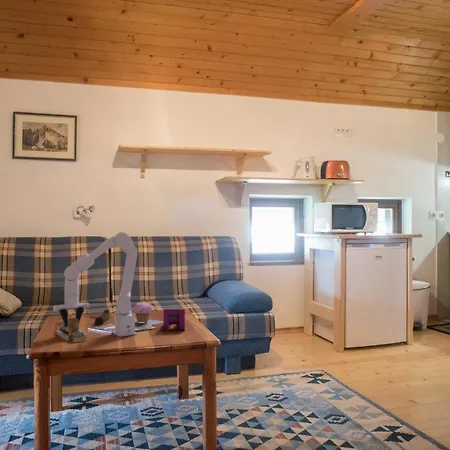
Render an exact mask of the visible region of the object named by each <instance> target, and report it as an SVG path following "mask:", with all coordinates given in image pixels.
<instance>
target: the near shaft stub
mask: <svg viewBox="0 0 450 450" xmlns="http://www.w3.org/2000/svg"><path fill="white" fill-rule="evenodd" d="M81 331H82V330H80V329H79V330H78V329H74V330H73V331H72V332H71V333H70V338H71V339H72V343H73V344H74V343H80V342H81V343H83V342H87V338H86V336H85V335H84V333H85V332H84V333H83V331H82V332H81Z"/></svg>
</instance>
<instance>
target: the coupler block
mask: <svg viewBox="0 0 450 450" xmlns="http://www.w3.org/2000/svg"><path fill="white" fill-rule="evenodd" d="M67 323H68V325H67V327H65V330H66V331H67V332H68V334H71V332H72V331H73V330H74V329H78V330H80V328H79V327H80V322H79V320H78V319H77V318H76V316H68V317H67Z"/></svg>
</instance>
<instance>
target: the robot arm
mask: <svg viewBox="0 0 450 450" xmlns="http://www.w3.org/2000/svg"><path fill="white" fill-rule="evenodd" d="M116 246H118V248H120V249H122V251H123V252H124V253H125V255H126V256H125V262H124V269H123V274H122V280H121V287H120V292H119V296H118V298H117V299H116V302H115V309H116V311H115V312H114V330H112V331H111V333H112V332H113V333H112V334H114V335H116V336H118V337H121V338H122V337H127V336H133V335H134V336H135V335H138V333H137V332H136V319H135V317H134V316H133V312H132V310H131V309H132V304H131V303H132V302H131V295H132V288H133V282H134V276H135V270H136V266H137V258H138V250H137V247H136V246H135V243H134V241H133V239H132V237H130V235H129V234H127V232H123V231H120V232H118V233H116V234H115V235H113V236H111V237H109V238H107V239H106V240H105V241H104V242H103V243H101V244H100V245H99V246H97V247H96V248H95V249H94V250H93V251H92V252H90V253H83V254H80V255H79V258H78V259H76V260H75V261H74V262H71V263H70V266H67V267H66V268H65V269H64V272H63V276H64V304H59V305H53V307H52V308H53V312H57V311H58V312H59V314H60V316H61V318H62V321H63V322H62V323H64V327H67V325H68V323H67V317H69V311H68V310H74V313H75V318H77V319H78V320H79V323H80V322H81V319H82V315H83V313H84V312H85V308H87V309H89V308H90V302H79V301H80V297H79V295H80V291H79V290H80V287H79V285H80V283H79V276H80V274H84V272H85V271H86V270H88V269H89V268H90V267H92V266H93V265H94V264H95V259H97V258H99V256H101V255H103V254H104V252H106V251H108V250H109V249H115V248H116Z"/></svg>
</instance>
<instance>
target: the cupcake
mask: <svg viewBox="0 0 450 450" xmlns="http://www.w3.org/2000/svg"><path fill="white" fill-rule="evenodd" d="M152 310H153V309H152V305H151V303H150V302H149V303H148V302H143V301H140V302H137V303H136V304H135V306H134V307H133V312H134V314H135V318H136V322H147V323H148V322H149V316H150V313H152Z"/></svg>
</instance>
